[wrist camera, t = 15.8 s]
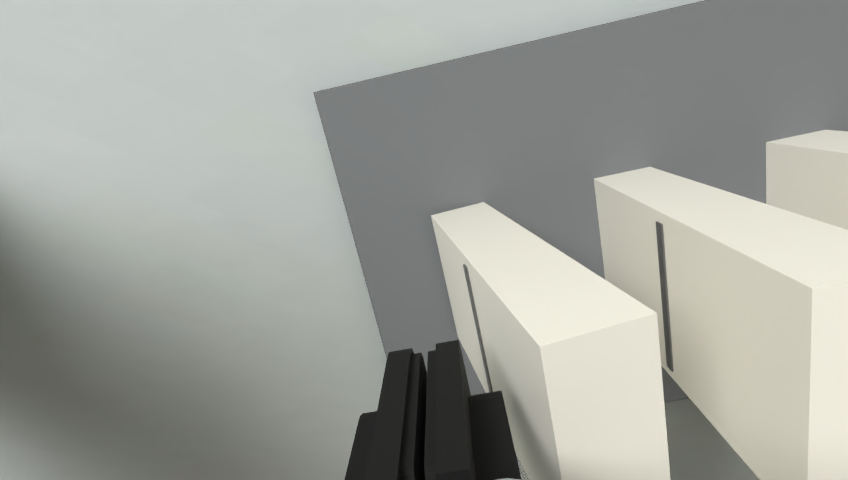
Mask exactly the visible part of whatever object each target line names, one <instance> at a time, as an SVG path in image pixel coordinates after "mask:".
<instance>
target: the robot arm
mask: <svg viewBox="0 0 848 480" xmlns="http://www.w3.org/2000/svg"><path fill="white" fill-rule="evenodd" d="M345 480H521V476H520V471H519V467H518V462H517V458H516V453H515V449H514V444H513V440H512V435H511V431H510V426H509V422H508V417H507V413H506V408H505V404H504V399H503V395H502V391H495V392H489V393H483V394H477V395H471V393H470V389H469V384H468V379H467V375H466V370H465V365H464V361H463V356H462V351H461V347H460V343H459V340H454V341H448V342H442V343H437V344H436V350H433V351H428V362H427V371H426V366H425V362H424V358H423V355H422V353H416V354H414V352H413V349H412V348H409V349H403V350H397V351H392V352H389V353H388V357H387V362H386V368H385V373H384V378H383V384H382V389H381V394H380V400H379V405H378V410H377V411H375V412H369V413H363V414H362V415H361V416H360V419H359V422H358V426H357V430H356V434H355V439H354V443H353V447H352V451H351V455H350V460H349V464H348V468H347V472H346V476H345Z"/></svg>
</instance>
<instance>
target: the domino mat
mask: <svg viewBox="0 0 848 480" xmlns="http://www.w3.org/2000/svg"><path fill="white" fill-rule="evenodd" d="M313 93H314V96H315V100H316V104H317V107H318V111H319V114H320V118H321V122H322V125H323V129H324V133H325V136H326V140H327V143H328V147H329V151H330V154H331V158H332V162H333V165H334V169H335V172H336V176H337V180H338V183H339V187H340V191H341V194H342V198H343V201H344V205H345V209H346V212H347V216H348V219H349V223H350V227H351V230H352V234H353V238H354V241H355V245H356V248H357V252H358V256H359V259H360V263H361V267H362V270H363V274H364V277H365V281H366V285H367V288H368V292H369V296H370V299H371V303H372V306H373V310H374V314H375V317H376V321H377V324H378V328H379V332H380V335H381V339H382V343H383V346H384V350H385V353H386V357H388V353H389V352H392V351H397V350H403V349H409V348H412V349H413V352H414V354H416V353H422V355H423V358H424V362H425V366H426V371H427V362H428V351H433V350H436V344H437V343H442V342H448V341H454V340H459V338H458V335H457V331H456V326H455V322H454V317H453V313H452V308H451V304H450V299H449V295H448V290H447V286H446V281H445V277H444V272H443V268H442V263H441V259H440V254H439V250H438V245H437V241H436V236H435V232H434V227H433V223H432V218H431V215H434V214H438V213H442V212H446V211H450V210H454V209H458V208H462V207H466V206H470V205H474V204H477V203H481V202H485V203H486V204H488V205H489V206H491V207H492V208H494V209H495V210H497V211H499V212H500V213H502V214H503V215H505V216H506V217H508V218H510V219H511V220H513V221H514V222H516V223H517V224H519V225H520V226H522V227H524V228H525V229H527V230H528V231H530V232H531V233H533V234H535V235H536V236H538V237H539V238H541V239H542V240H544V241H545V242H547V243H549V244H550V245H552V246H553V247H555V248H556V249H558V250H559V251H561V252H563V253H564V254H566V255H567V256H569V257H570V258H572V259H574V260H575V261H577V262H578V263H580V264H581V265H583V266H584V267H586V268H588V269H589V270H591V271H592V272H594V273H595V274H597V275H599V276H600V277H602V278H603V279H605V273H604V265H603V256H602V247H601V238H600V230H599V221H598V212H597V204H596V195H595V186H594V178H599V177H604V176H609V175H613V174H618V173H623V172H627V171H632V170H637V169H642V168H646V167H653V168H656V169H659V170H662V171H665V172H668V173H671V174H674V175H678V176H681V177H684V178H687V179H690V180H693V181H696V182H699V183H702V184H706V185H709V186H712V187H715V188H718V189H721V190H724V191H727V192H731V193H734V194H737V195H740V196H743V197H746V198H749V199H752V200H755V201H759V202H762V203H765V204H766V142H769V141H774V140H779V139H783V138H788V137H793V136H798V135H802V134H807V133H812V132H817V131H821V130H836V131H848V0H704V1H700V2H696V3H692V4H687V5H683V6H679V7H675V8H670V9H666V10H662V11H658V12H653V13H649V14H645V15H641V16H636V17H632V18H628V19H624V20H619V21H615V22H611V23H607V24H602V25H598V26H594V27H590V28H585V29H581V30H577V31H573V32H568V33H564V34H560V35H556V36H551V37H547V38H543V39H539V40H534V41H530V42H526V43H522V44H517V45H513V46H509V47H505V48H500V49H496V50H492V51H488V52H483V53H479V54H475V55H471V56H466V57H462V58H458V59H454V60H449V61H445V62H441V63H437V64H432V65H428V66H424V67H420V68H415V69H411V70H407V71H403V72H398V73H394V74H390V75H386V76H381V77H377V78H373V79H369V80H364V81H360V82H356V83H352V84H347V85H343V86H339V87H335V88H330V89H326V90H322V91H318V92H313ZM459 343H460V347H461V351H462V356H463V361H464V365H465V370H466V375H467V379H468V384H469V389H470V393H471V395H477V394H483V393H486V392H485V390H484V388H483V386H482V384H481V382H480V380H479V378H478V376H477V374H476V372H475V370H474V368H473V366H472V364H471V362H470V360H469V358H468V356H467V354H466V352H465V350H464V348H463V346H462V344H461V342H460V340H459ZM661 369H662V381H663V393H664V402H669V401H675V400H681V399H686V398H689V397H688V396H687V395H686V393H685V392H684V391H683V390H682V389H681V388H680V387H679V385H678V384H677V383H676V382H675V381H674V380H673V378H672V377H671V376H670V375H669V374H668V373H667V371H666V370H665V369H664V368H663V367H662V366H661Z"/></svg>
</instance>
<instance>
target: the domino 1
mask: <svg viewBox="0 0 848 480" xmlns="http://www.w3.org/2000/svg"><path fill="white" fill-rule="evenodd" d="M431 218H432V223H433V227H434V232H435V236H436V241H437V245H438V250H439V254H440V259H441V263H442V268H443V272H444V277H445V281H446V286H447V290H448V295H449V299H450V304H451V308H452V313H453V317H454V322H455V326H456V331H457V335H458V338H459V340H460V342H461V344H462V346H463V348H464V350H465V352H466V354H467V356H468V358H469V360H470V362H471V364H472V366H473V368H474V370H475V372H476V374H477V376H478V378H479V380H480V382H481V384H482V386H483V388H484V390H485V392H486V393H489V392H495V391H502V395H503V399H504V404H505V408H506V413H507V417H508V422H509V426H510V431H511V435H512V440H513V444H514V449H515V452H516V454H517V456H518V458H519V461H520V463H521V465H522V467H523V469H524V471H525V473H526V475H527V477H528V479H529V480H671V479H670V467H669V454H668V442H667V430H666V418H665V405H664V393H663V381H662V369H661V356H660V344H659V332H658V320H657V313H656V312H655V311H653V310H652V309H650V308H648V307H647V306H645V305H644V304H642V303H641V302H639V301H638V300H636V299H634V298H633V297H631V296H630V295H628V294H627V293H625V292H623V291H622V290H620V289H619V288H617V287H616V286H614V285H613V284H611V283H609V282H608V281H606V280H605V279H603V278H602V277H600V276H599V275H597V274H595V273H594V272H592V271H591V270H589V269H588V268H586V267H584V266H583V265H581V264H580V263H578V262H577V261H575V260H574V259H572V258H570V257H569V256H567V255H566V254H564V253H563V252H561V251H559V250H558V249H556V248H555V247H553V246H552V245H550V244H549V243H547V242H545V241H544V240H542V239H541V238H539V237H538V236H536V235H535V234H533V233H531V232H530V231H528V230H527V229H525V228H524V227H522V226H520V225H519V224H517V223H516V222H514V221H513V220H511V219H510V218H508V217H506V216H505V215H503V214H502V213H500V212H499V211H497V210H495V209H494V208H492V207H491V206H489V205H488V204H486V203H485V202H481V203H477V204H474V205H470V206H466V207H462V208H458V209H454V210H450V211H446V212H442V213H438V214H434V215H431Z"/></svg>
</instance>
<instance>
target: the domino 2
mask: <svg viewBox="0 0 848 480" xmlns="http://www.w3.org/2000/svg"><path fill="white" fill-rule="evenodd" d="M594 186H595V195H596V204H597V212H598V221H599V230H600V238H601V247H602V256H603V265H604V273H605V280H606V281H608V282H609V283H611V284H613V285H614V286H616V287H617V288H619V289H620V290H622V291H623V292H625V293H627V294H628V295H630V296H631V297H633V298H634V299H636V300H638V301H639V302H641V303H642V304H644V305H645V306H647V307H648V308H650V309H652V310H653V311H655V312H656V313H657V320H658V332H659V344H660V356H661V366H662V367H663V368H664V369H665V370H666V371H667V373H668V374H669V375H670V376H671V377H672V378H673V380H674V381H675V382H676V383H677V384H678V385H679V387H680V388H681V389H682V390H683V391H684V392H685V393H686V395H687V396H688V397H689V398H690V399H691V400H692V402H693V403H694V404H695V405H696V406H697V407H698V409H699V410H700V411H701V412H702V413H703V414H704V416H705V417H706V418H707V419H708V420H709V421H710V422H711V424H712V425H713V426H714V427H715V428H716V429H717V431H718V432H719V433H720V434H721V435H722V436H723V438H724V439H725V440H726V441H727V442H728V443H729V445H730V446H731V447H732V448H733V449H734V450H735V451H736V453H737V454H738V455H739V456H740V457H741V458H742V460H743V461H744V462H745V463H746V464H747V465H748V467H749V468H750V469H751V470H752V471H753V472H754V474H755V475H756V476H757V477H758V478H759V479H760V480H848V230H846V229H843V228H840V227H837V226H833V225H830V224H827V223H824V222H821V221H818V220H815V219H812V218H808V217H805V216H802V215H799V214H796V213H793V212H790V211H787V210H784V209H780V208H777V207H774V206H771V205H768V204H765V203H762V202H759V201H755V200H752V199H749V198H746V197H743V196H740V195H737V194H734V193H731V192H727V191H724V190H721V189H718V188H715V187H712V186H709V185H706V184H702V183H699V182H696V181H693V180H690V179H687V178H684V177H681V176H678V175H674V174H671V173H668V172H665V171H662V170H659V169H656V168H653V167H646V168H642V169H637V170H632V171H627V172H623V173H618V174H613V175H609V176H604V177H599V178H594Z"/></svg>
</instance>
